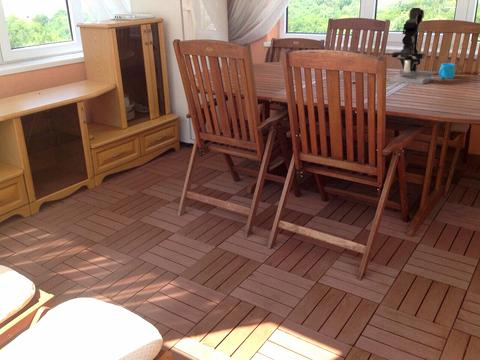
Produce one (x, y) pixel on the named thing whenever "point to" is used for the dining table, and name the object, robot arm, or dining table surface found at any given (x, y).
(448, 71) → the mug
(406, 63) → the cream domed knob
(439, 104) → the dining table surface
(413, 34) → the robot arm
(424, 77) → the jig
